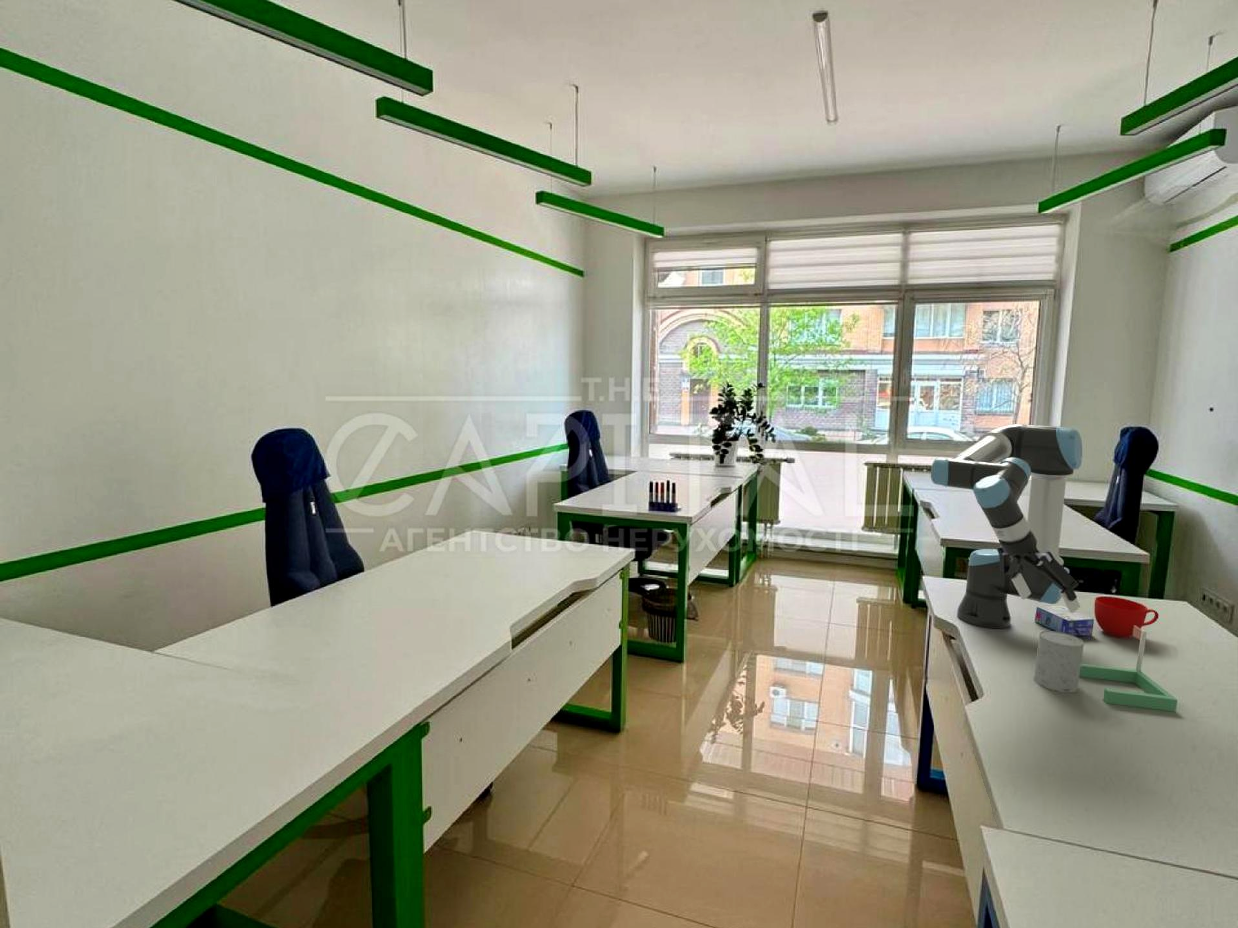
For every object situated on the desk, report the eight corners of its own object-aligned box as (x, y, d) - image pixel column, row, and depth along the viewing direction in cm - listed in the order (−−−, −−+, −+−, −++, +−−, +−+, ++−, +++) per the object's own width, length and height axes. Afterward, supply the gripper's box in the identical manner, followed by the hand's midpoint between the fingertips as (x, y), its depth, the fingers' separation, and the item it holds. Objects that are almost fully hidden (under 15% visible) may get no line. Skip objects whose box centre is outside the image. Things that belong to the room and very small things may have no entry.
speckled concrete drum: (1077, 696, 159) (1083, 649, 157) (1031, 684, 165) (1037, 638, 163) (1078, 682, 167) (1084, 637, 165) (1035, 671, 172) (1040, 627, 171)
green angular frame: (1069, 667, 175) (1076, 618, 173) (1130, 674, 172) (1138, 625, 170) (1106, 702, 156) (1114, 648, 154) (1175, 711, 153) (1184, 655, 151)
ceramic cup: (1167, 646, 192) (1172, 614, 191) (1104, 639, 196) (1108, 608, 194) (1142, 629, 205) (1146, 599, 204) (1082, 624, 208) (1086, 594, 207)
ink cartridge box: (1033, 622, 209) (1072, 639, 194) (1035, 606, 208) (1074, 622, 194) (1059, 621, 210) (1100, 637, 196) (1061, 604, 210) (1102, 620, 196)
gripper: (964, 535, 169) (998, 599, 173) (1049, 551, 145) (1087, 625, 149) (984, 519, 171) (1018, 583, 174) (1071, 532, 147) (1108, 605, 150)
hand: (1050, 602), depth 162 cm, fingers open, 13 cm apart
